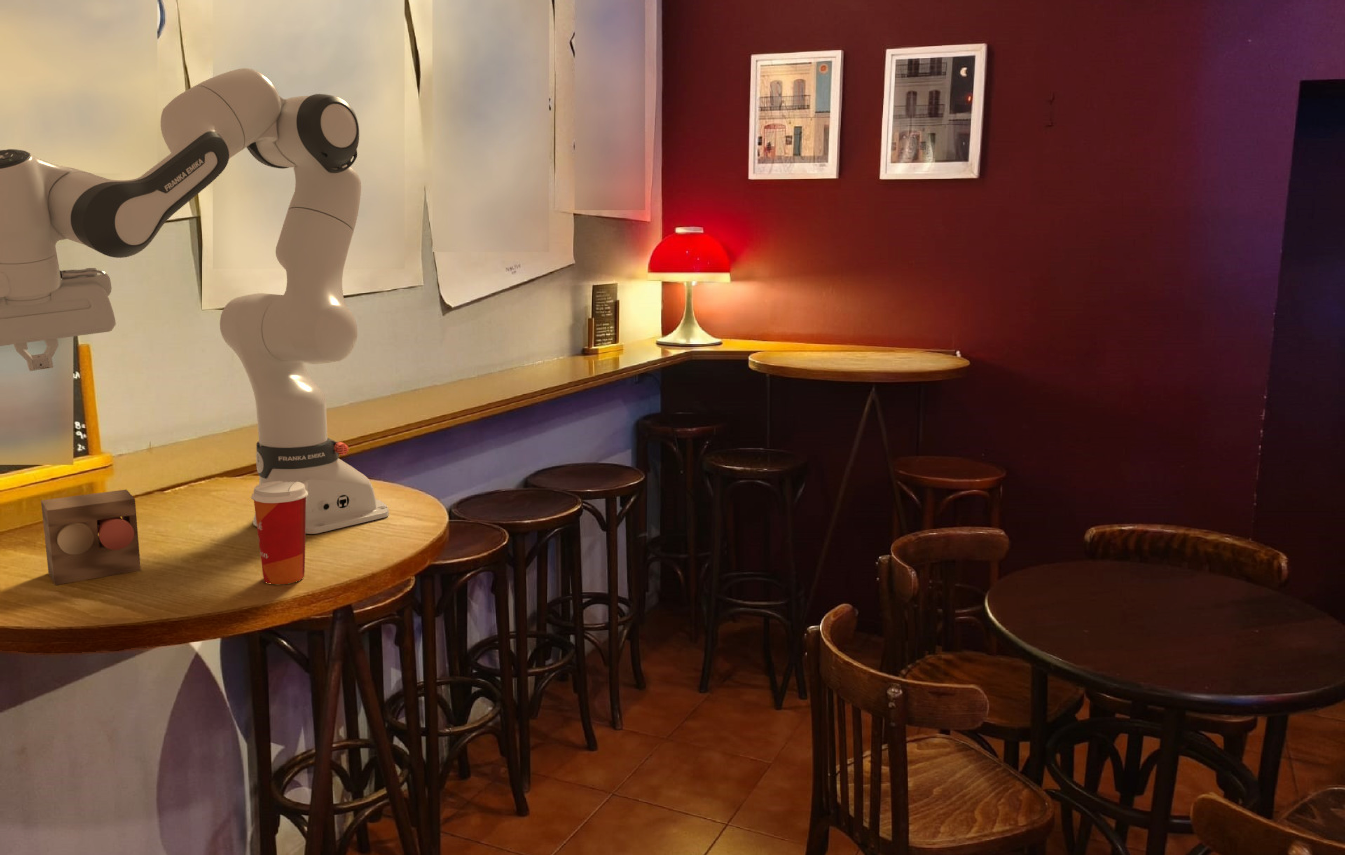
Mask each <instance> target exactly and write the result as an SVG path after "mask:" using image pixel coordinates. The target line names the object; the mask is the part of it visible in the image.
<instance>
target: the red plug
mask: <svg viewBox="0 0 1345 855" xmlns="http://www.w3.org/2000/svg"><path fill="white" fill-rule="evenodd" d="M97 528H98V536H99V540H100V542H101V543H102V544H103V545H104V546H105V547H106V548H108V549H111V550H119V549H123V548H125V547H127V546H128V545H129V544H130V543H131V542H132V540H133V538H134V530H133V527H132V526H131V525H130V524H129V523H128V522H127V521H125V520H122V517H115V518H108V519H101V520H97Z"/></svg>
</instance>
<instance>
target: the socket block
mask: <svg viewBox="0 0 1345 855" xmlns="http://www.w3.org/2000/svg"><path fill="white" fill-rule="evenodd" d="M40 505H41V513H42V523H43V532H44V541H45V542H44V543H45V552H46V562H47V571H48V574H49V577H50V578H51V581H52V582H53V585H54V586H58V585H63V584H68V583H75V582H81V581H86V580H92V579H98V578H103V577H109V576H115V575H121V574H127V573H131V572H132V573H133V572H137V571H138V572H139V571H142V569H141V567H142V566H141V557H140V556H141V555H140V544H139V531H138V530H139V529H138V520H137V518H138V517H137V508H136V498H135V497H134V496H133V495H132V494H131V493H130V492H129V491H128V490H127V489H118V490H113V491H103V492H97V493H96V492H95V493H88V494H81V495H74V496H73V495H71V496H67V497H66V496H64V497H58V498H57V497H56V498H50V499H49V498H48V499H42V500H40ZM115 517H121V519H122V520H125V521H127V522H128V523H129V524H130V525H131V526H132V527H133V530H134V538H133V540H132V542H131V543H130V544H129V545H128V546H127V547H125V548H123V549H119V550H111V549H108V548H106V547H105V546H104V545H103V544H102V543H101V542H100V540H99V533H98V528H97V520H101V519H108V518H115Z"/></svg>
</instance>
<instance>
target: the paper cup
mask: <svg viewBox="0 0 1345 855" xmlns="http://www.w3.org/2000/svg"><path fill="white" fill-rule="evenodd" d="M307 495H308V492H307V491H306V489H305V485H304V484H303V483H301V482H296V483H294V482H293V481H285V482H283V481H273V482H267V483H263V484H260V485H259V484H257V485H256V486H254V488H253V493H252V494H251V496H250V498H251V500H252V501H253V505H254V515H255V514H256V522H257V527H256V530H257V537H258V546H259V547H258V548H259V552H260V553H259V554H260V555H259V556H260V563H261V570H262V576H263V580H264V583H266V582H267V583H271V584H278V585H277V586H280V585H279V584H283V585H282V586H284V584H287V585H289V584H288V583H293V582H296V581H299V580H301V579H302V578H303V577H304V578H305V572H306V571H305V567H306V566H305V565H306V564H305V563H306V533H305V530H306V496H307ZM304 578H303V579H304ZM303 579H302V580H303ZM302 580H301V581H302ZM299 582H300V581H299ZM267 583H266V584H267ZM296 583H297V582H296ZM271 584H270V585H271ZM293 584H294V583H293Z"/></svg>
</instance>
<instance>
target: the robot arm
mask: <svg viewBox="0 0 1345 855" xmlns="http://www.w3.org/2000/svg"><path fill="white" fill-rule="evenodd" d="M359 126H360V124H359V121H358V117H357V115H356V112H355V111H354V109H353V108H352V106H351V105H350V104H349V103H348V102H347V101H346V100H344V99H343V98H340V97H338V96H335V95H331V94H326V93H325V94H324V93H315V94H311V95H302V96H295V97H294V96H293V97H288V98H286V99H285V98H282V97H281V96H280V95H279V92H278V91H277V88H276V87H275V85H274V83H273V82H272V81H271V80H270V79H269V78H268V77H267V76H265V74H263V73H261V72H260V71H257V70H255V69H252V68H246V67H244V68H243V67H242V68H237V69H234V70H230V71H226V72H223V73H221V74H218V75H216V76H213V77H209V78H208V79H206V80H204V81H202V82H200V83H198V84H196V85H194V86H193V87H190V88H189V89H187V90H185V91H183V92H181V93H180V94H178V95H177V96H175V97H173V99H172V100H170V102H168V103H167V105H165V107H164V108H162V112H161V116H160V131H161V134H162V137H163V140H164V142H165V144H166V147H167V149H168V150H169V151H170V154H168V155H167V156H166V157H164V158H163V159H162V160H160V161H159V162H157V163H156V164H155V165H154V166H152V167H151V168H150V169H149V170H147V171H146V172H145V173H143V174H142V175H141V176H139V177H137V178H133V179H127V180H126V179H125V180H123V179H122V180H121V179H120V180H117V179H111V178H106V177H103V176H99V175H97V174H93V173H91V172H87V171H85V170H81V169H78V168H75V167H74V168H73V167H69V166H63V165H58V164H55V163H52V162H48V161H46V160H44V159H43V160H42V159H41V158H38V157H36V156H34V155H33V154H31V153H30V152H28V151H26V150H23V149H14V148H13V149H12V148H8V149H0V347H1V346H2V347H3V346H11V345H13V347H14V349H15V350H16V353H18V354H19V355H20V356H21V357H22V358H23V359H25V360H26V364H27V368H28V370H29V372H35V371H39V370H41V371H42V370H48V369H54V363H53V357H54V355H55V353H56V351H57V349H58V347H59V339H63V338H71V337H72V338H73V337H79V336H87V335H93V334H94V335H95V334H103V333H108V332H109V333H110V332H112V331H113V330H114V328H115V327H116V325H117V322H116V318H115V313H114V309H113V306H112V303H111V300H110V299H109V296H110V295H111V293H112V288H113V287H112V282H111V277H110V276H109V275H108V274H107V273H106V272H105V271H104V270H103V271H102V270H99V269H97V268H96V267H88V268H86V267H85V268H84V269H83V268H82V269H65V270H64V269H63V270H60V264H59V258H58V253H57V248H56V245H57V243H58V242H59V241H62V240H69V241H72V242H75V243H78V244H81V245H83V246H86V247H88V248H91V249H92V250H94V251H96V252H98V253H100V254H102V255H104V256H108V257H111V258H116V259H118V258H120V259H121V258H128V257H129V258H130V257H132V256H134V255H137V254H139V253H140V252H142V251H143V250H144V249H145V248H147V247H148V246H149V245H150V244H151V242H152V241H153V240H154V238H156V236H157V234H158V233H159V232H160V230H161V228H162V227H163V226H164V225H165V224H166V223H167V221H168V220H169V219H170V218H171V217H172V216H173V215H174V214H176V213H177V212H178V211H179V210H180V209H182V208H183V207H184V206H185V205H187V203H189V202H190V201H191V200H193V199H194V198H195V197H196V196H197V195H199V193H201V192H203V190H205V188H207V187H208V186H209V185H210V184H211V183H213V182H214V180H216V179H217V178H218V177H219V176H220V175H221V174H222V173H223V172H224V170H225V169H226V167H227V166H228V164H229V160H230V159H231V158H233V157H234V156H235V155H237V154H238V153H240V152H241V151H243V150H244V149H247V150H248V152H249V153H250V154H251V155H252V157H253V158H254V159H255V160H256V161H258V162H259V163H261V164H262V165H265V166H266V167H270V168H274V169H281V170H282V169H289V168H293V171H294V177H295V178H294V179H295V183H294V184H295V187H294V192H293V195H292V198H291V200H290V203H289V205H288V209H287V212H286V215H285V219H284V221H283V224H282V227H281V231H280V234H279V236H278V241H277V243H276V247H275V257H276V259H277V261H278V262H279V264H280V265H281V266H282V268H283V269H284V270H285V273H286V287H285V292H284V293H283V294H275V293H266V292H265V293H263V292H260V293H259V292H256V293H252V294H246V295H242V296H237V297H235V298H233V299H231V300H230V301H229V302H228V303H227V304H225V306H224V308H223V309H222V312H221V314H220V320H219V327H220V328H219V329H220V333H221V336H222V338H223V340H224V342H225V343H226V345H227V346H228V347H230V348H231V349H232V350H233V351H234V353H235V354H236V356H237V357H238V358H239V360H240V362H241V364H242V365H243V368H244V370H245V373H246V375H247V377H248V379H249V382H250V385H251V388H252V392H253V395H254V401H255V409H256V410H255V411H256V418H257V419H256V420H257V433H258V441H257V442H256V444H255V445H256V447H255V448H256V452H255V462H256V471H257V475H258V476H259V478H258V480H259V481H258V485H260V484H263V483H267V482H273V481H283V482H285V481H293V482H294V483H296V482H301V483H303V484H304V485H305V489H306V491H307V492H308V495H307V496H306V530H305V534H310V535H312V534H313V535H314V534H315V535H316V534H320V533H323V532H329V531H332V530H333V531H334V530H338V529H341V528H346V527H350V526H354V525H358V524H362V523H366V522H367V523H368V522H371V521H374V520H376V521H377V520H379V519H382V518H383V519H384V518H387V517H388V516H389V515H390V511H389V506H388V505H387V504H386V503H384V502H383V501H382V500H380V499H378V498H376V495H375V491H374V487H373V484H372V482H371V481H370V479H369V478H368V477H367V476H366V475H365V474H363V473H362V472H360V471H358V470H357V469H356V468H355V467H353V466H352V465H350V464H348V463H347V462H345V461H343V460H342V459H340V458H339V456H345V455H347V454H348V453H349V450H350V448H349V446H348V445H347V444H346V443H344V442H342V441H339V442H338V441H336V440H333V439H331V438H329V437H328V422H327V420H328V418H327V399H326V396H325V394H324V392H323V390H322V389H321V388H320V387H319V386H318V385H316V383H315V382H314V381H313V380H312V378H311V377H310V375H309V373H308V371H307V369H306V366H305V364H308V365H322V364H330V363H335V362H340V361H342V360H344V359H346V358H348V356H349V355H350V354H351V353H352V352H353V350H354V347H355V345H356V343H357V338H358V326H357V321H356V319H355V316H354V315H353V313H352V312H351V310H350V309H349V308H348V306H347V304H346V302H345V301H346V300H345V298H344V292H343V291H344V290H343V275H344V274H343V273H344V269H345V264H346V260H347V256H348V252H349V248H350V245H351V241H352V239H353V238H352V237H353V235H354V231H355V227H356V224H357V220H358V216H359V209H360V203H361V195H362V180H361V179H360V176H359V174H358V172H357V171H356V170H355V169H353V168H352V167H351V166H352V165H353V164H354V163H355V161H356V160H357V158H358V147H359V144H360V143H359V142H360V127H359ZM41 341H44V344H46V347H45V350H44V352H43V353H40V354H39V353H37V354H32V355H31V354H30V352H29V351H27V350H28V348H29V346H28V343H32V342H33V343H34V342H41ZM252 524H253V526H255V527H256V528H257V522H256V514H255V513H254V516H253V520H252Z"/></svg>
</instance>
